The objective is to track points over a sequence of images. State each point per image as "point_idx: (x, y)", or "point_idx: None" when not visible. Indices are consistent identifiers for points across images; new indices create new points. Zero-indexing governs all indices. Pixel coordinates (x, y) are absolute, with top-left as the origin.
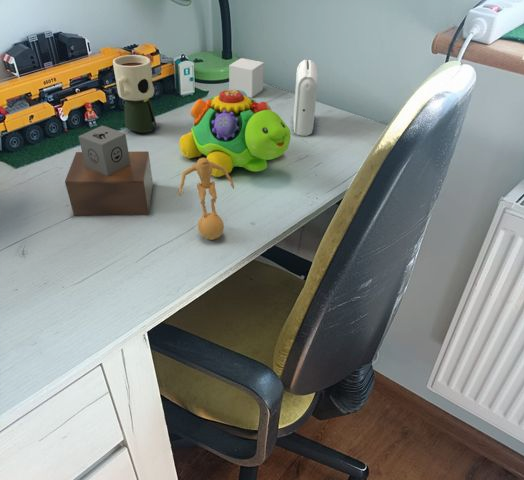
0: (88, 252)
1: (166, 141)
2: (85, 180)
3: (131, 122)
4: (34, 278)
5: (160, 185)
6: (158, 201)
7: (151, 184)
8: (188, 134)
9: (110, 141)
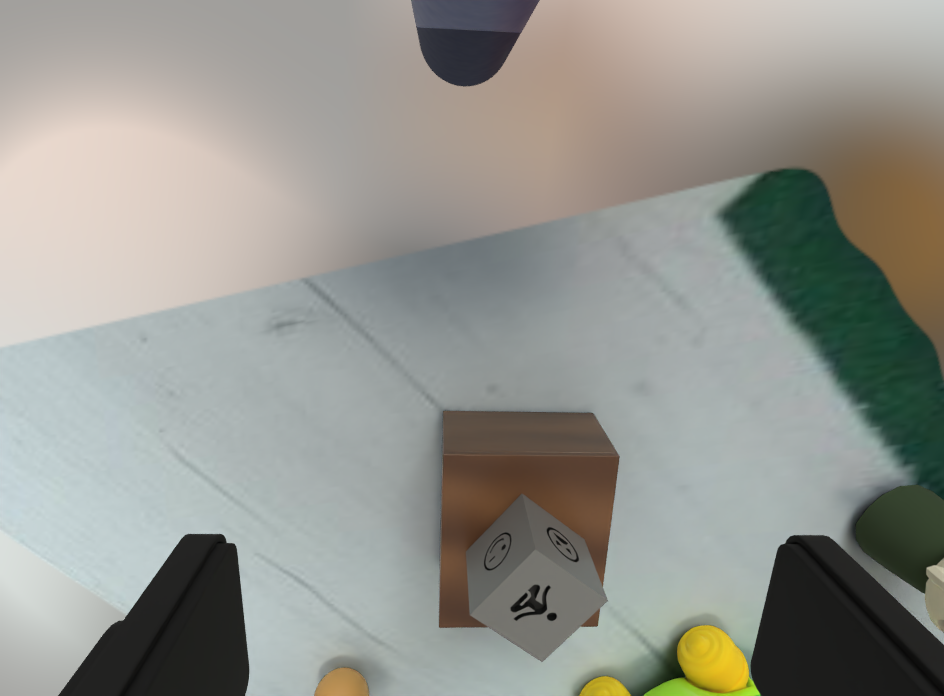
0: (289, 461)
1: None
2: (446, 502)
3: (887, 520)
4: (187, 367)
5: None
6: None
7: None
8: (725, 681)
9: (496, 630)
